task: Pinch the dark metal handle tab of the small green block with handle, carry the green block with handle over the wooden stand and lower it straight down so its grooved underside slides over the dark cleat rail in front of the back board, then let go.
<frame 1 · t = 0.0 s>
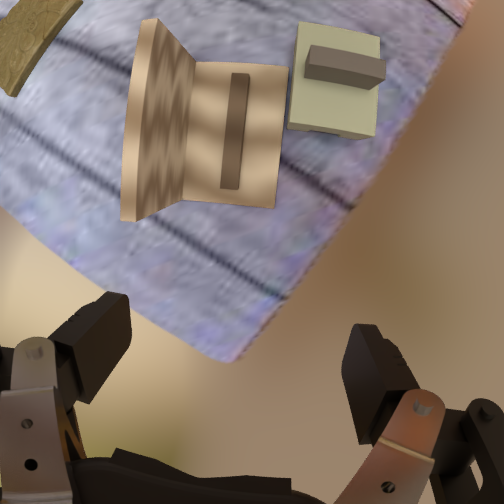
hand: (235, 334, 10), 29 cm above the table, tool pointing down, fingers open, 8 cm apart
decorative tile: (28, 33, 32), on the table
wooden stand: (229, 131, 36), on the table
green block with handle: (326, 89, 33), on the table
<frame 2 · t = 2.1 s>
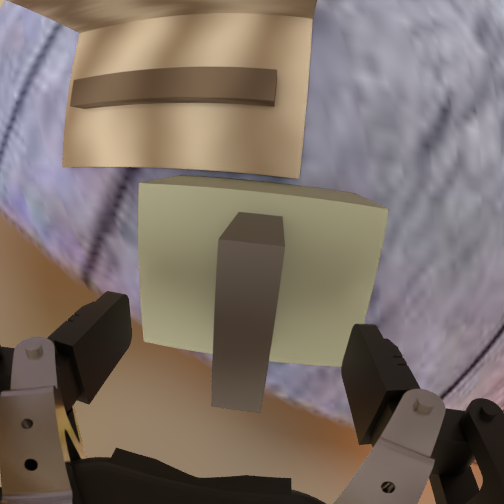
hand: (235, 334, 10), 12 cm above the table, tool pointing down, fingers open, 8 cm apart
wooden stand: (176, 79, 18), on the table
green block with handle: (261, 245, 22), on the table
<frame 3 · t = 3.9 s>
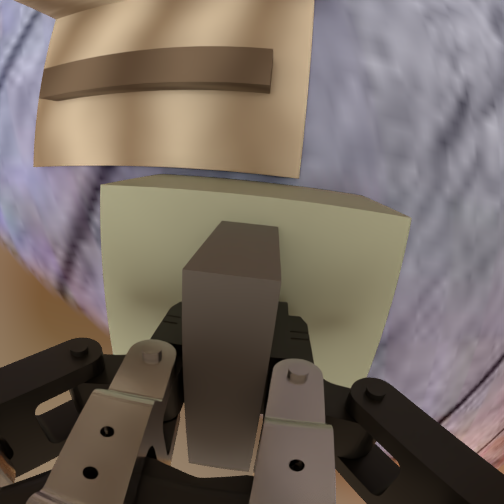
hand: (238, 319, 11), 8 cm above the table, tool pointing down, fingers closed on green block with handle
wooden stand: (158, 64, 15), on the table
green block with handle: (252, 256, 19), on the table, touching gripper
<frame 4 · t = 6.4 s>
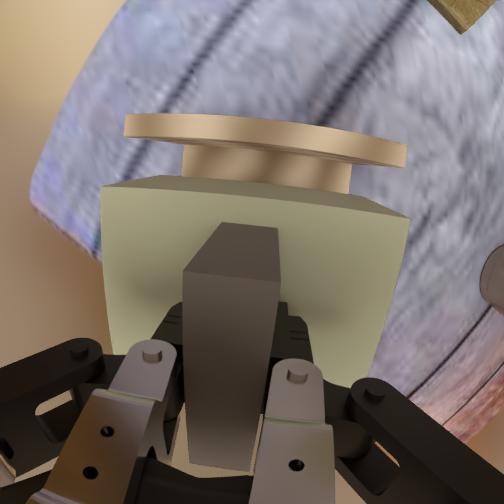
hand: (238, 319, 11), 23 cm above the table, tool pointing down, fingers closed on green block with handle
wooden stand: (262, 197, 33), on the table
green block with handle: (252, 257, 19), point 16 cm above the table, touching gripper
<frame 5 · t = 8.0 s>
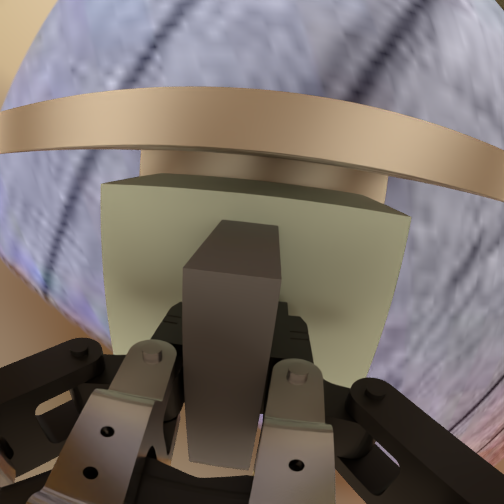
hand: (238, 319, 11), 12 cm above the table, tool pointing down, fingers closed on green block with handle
wooden stand: (257, 224, 23), on the table
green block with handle: (253, 255, 19), point 5 cm above the table, touching gripper
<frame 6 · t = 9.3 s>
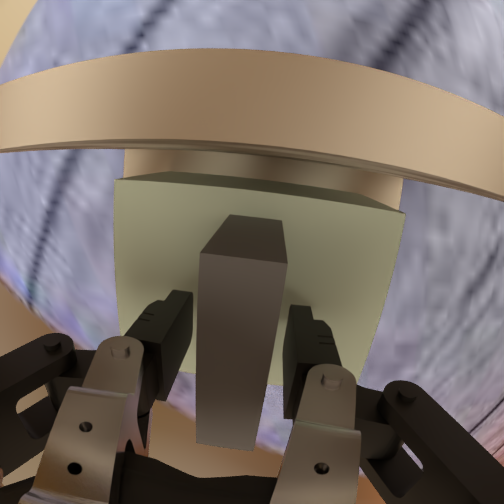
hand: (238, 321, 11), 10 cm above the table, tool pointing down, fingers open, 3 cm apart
wooden stand: (255, 233, 20), on the table
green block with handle: (255, 251, 19), point 1 cm above the table, touching wooden stand
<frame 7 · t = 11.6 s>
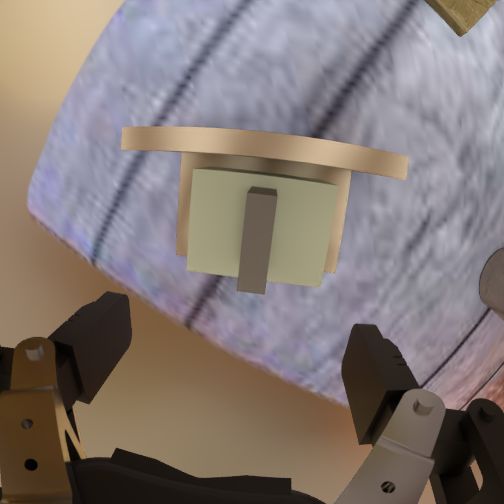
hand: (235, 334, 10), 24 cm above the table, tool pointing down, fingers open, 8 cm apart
wooden stand: (261, 204, 33), on the table
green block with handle: (262, 214, 32), point 1 cm above the table, touching wooden stand
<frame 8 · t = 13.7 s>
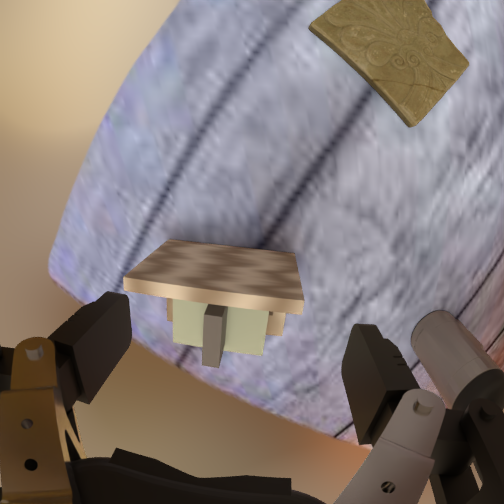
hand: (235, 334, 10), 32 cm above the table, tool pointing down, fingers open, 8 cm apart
decorative tile: (396, 44, 33), on the table
wooden stand: (227, 288, 45), on the table
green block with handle: (226, 297, 44), point 1 cm above the table, touching wooden stand
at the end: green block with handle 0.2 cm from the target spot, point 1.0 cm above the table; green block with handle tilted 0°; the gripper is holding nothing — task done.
